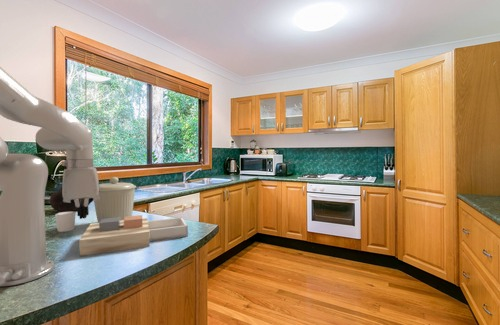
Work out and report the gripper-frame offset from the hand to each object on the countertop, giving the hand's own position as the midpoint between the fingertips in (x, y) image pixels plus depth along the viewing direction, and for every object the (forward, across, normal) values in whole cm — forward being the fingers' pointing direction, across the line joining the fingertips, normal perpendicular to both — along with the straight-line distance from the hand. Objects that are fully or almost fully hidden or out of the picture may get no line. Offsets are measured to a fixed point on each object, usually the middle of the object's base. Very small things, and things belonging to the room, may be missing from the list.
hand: (83, 217), depth 87 cm
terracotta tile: (+5, +16, -1) cm, 16 cm away
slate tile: (+5, +8, -1) cm, 9 cm away
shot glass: (+10, -10, +24) cm, 28 cm away
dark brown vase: (+11, -18, +66) cm, 69 cm away
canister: (+11, +8, +26) cm, 29 cm away
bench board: (+10, +10, -1) cm, 14 cm away
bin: (+10, +28, +1) cm, 29 cm away
